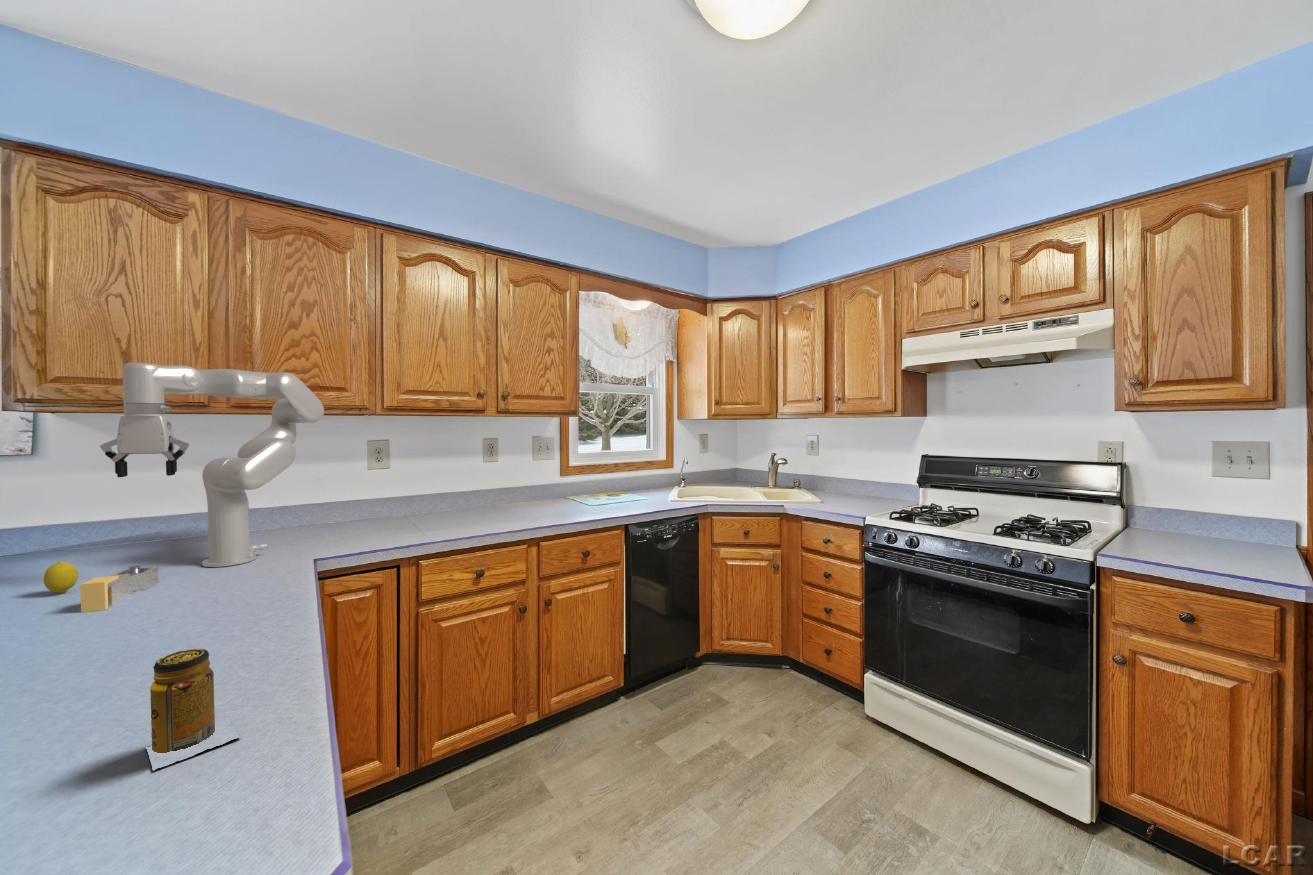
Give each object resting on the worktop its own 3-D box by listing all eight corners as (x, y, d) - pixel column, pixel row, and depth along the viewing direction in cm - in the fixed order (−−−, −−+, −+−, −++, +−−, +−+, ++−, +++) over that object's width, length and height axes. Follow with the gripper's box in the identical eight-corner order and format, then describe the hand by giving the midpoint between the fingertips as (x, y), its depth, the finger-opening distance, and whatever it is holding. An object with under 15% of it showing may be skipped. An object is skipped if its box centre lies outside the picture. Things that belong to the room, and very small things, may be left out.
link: (121, 604, 118) (120, 585, 118) (82, 608, 116) (81, 589, 116) (158, 582, 135) (158, 566, 134) (125, 585, 132) (124, 569, 132)
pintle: (138, 586, 132) (137, 565, 131) (142, 587, 131) (142, 566, 131) (128, 588, 130) (127, 567, 129) (132, 589, 129) (131, 568, 129)
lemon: (54, 598, 123) (53, 565, 123) (37, 596, 124) (36, 563, 124) (84, 590, 128) (83, 559, 128) (68, 589, 129) (67, 557, 129)
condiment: (145, 748, 66) (142, 657, 66) (229, 719, 73) (227, 636, 72) (152, 773, 61) (149, 675, 61) (241, 740, 68) (239, 651, 68)
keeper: (96, 604, 119) (95, 577, 118) (119, 601, 120) (118, 575, 120) (81, 612, 113) (80, 584, 113) (105, 609, 115) (104, 582, 115)
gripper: (193, 411, 140) (195, 473, 141) (108, 410, 133) (111, 476, 134) (180, 410, 133) (182, 475, 134) (90, 410, 127) (93, 479, 127)
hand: (147, 475), depth 134 cm, fingers open, 9 cm apart
